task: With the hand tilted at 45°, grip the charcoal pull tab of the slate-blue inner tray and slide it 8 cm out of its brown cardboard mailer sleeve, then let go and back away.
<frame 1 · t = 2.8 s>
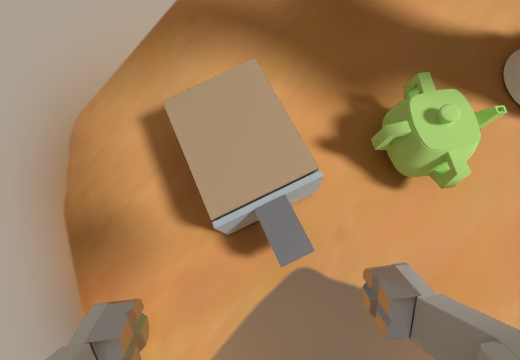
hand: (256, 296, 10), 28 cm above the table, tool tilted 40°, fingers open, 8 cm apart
teapot: (413, 147, 40), on the table
mailer sleeve: (244, 155, 42), on the table
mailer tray: (253, 171, 36), point 4 cm above the table, slide at 0.0 cm
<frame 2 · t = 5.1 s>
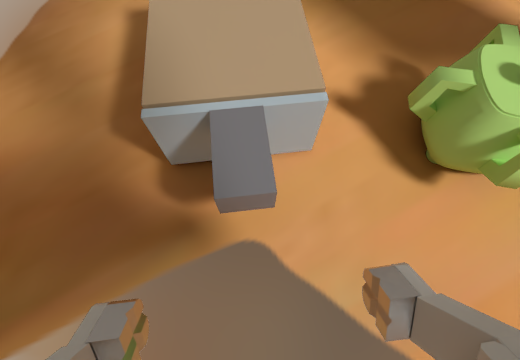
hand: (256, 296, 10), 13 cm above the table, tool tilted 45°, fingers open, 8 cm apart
teapot: (457, 140, 28), on the table
mailer sleeve: (234, 83, 31), on the table
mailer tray: (234, 87, 26), point 4 cm above the table, slide at 0.0 cm
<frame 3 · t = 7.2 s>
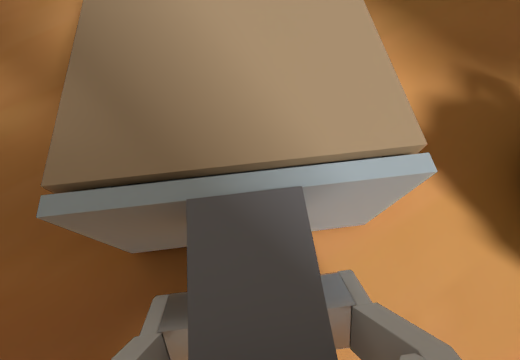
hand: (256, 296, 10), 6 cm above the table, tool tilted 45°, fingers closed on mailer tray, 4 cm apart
mailer sleeve: (236, 109, 21), on the table
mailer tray: (238, 125, 15), point 4 cm above the table, slide at 0.0 cm, touching gripper
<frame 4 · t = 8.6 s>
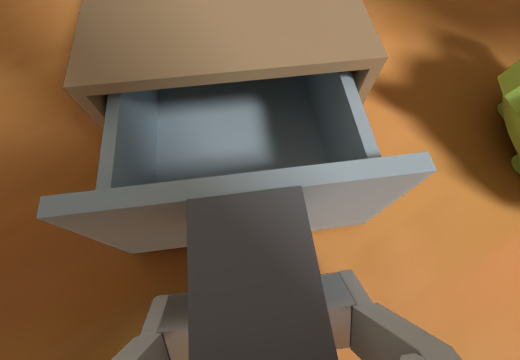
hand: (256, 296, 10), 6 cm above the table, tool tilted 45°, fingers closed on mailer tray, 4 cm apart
mailer sleeve: (230, 66, 22), on the table
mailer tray: (237, 125, 15), point 4 cm above the table, slide at 4.5 cm, touching gripper
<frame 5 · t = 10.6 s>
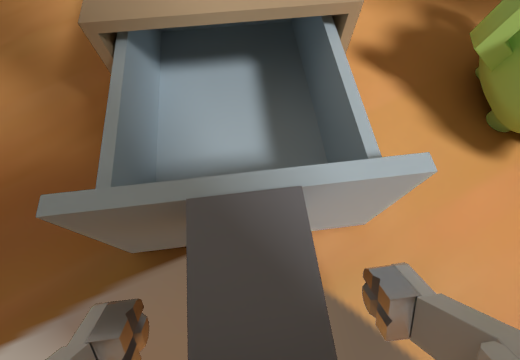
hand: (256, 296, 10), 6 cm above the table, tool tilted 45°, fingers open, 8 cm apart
mailer sleeve: (228, 34, 24), on the table
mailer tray: (237, 124, 15), point 4 cm above the table, slide at 8.5 cm
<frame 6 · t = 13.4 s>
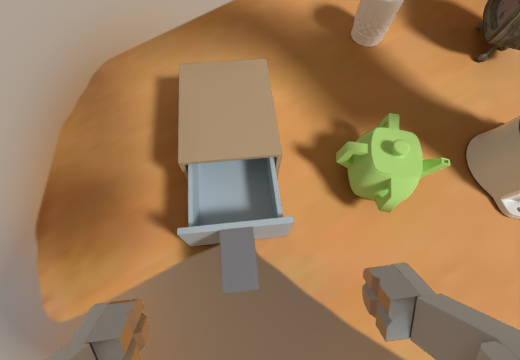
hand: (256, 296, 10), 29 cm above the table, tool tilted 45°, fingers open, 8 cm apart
teapot: (372, 178, 45), on the table
mailer sleeve: (230, 135, 47), on the table
tabletop clock: (491, 48, 58), on the table
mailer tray: (234, 196, 38), point 4 cm above the table, slide at 8.5 cm
white cup: (365, 37, 59), on the table
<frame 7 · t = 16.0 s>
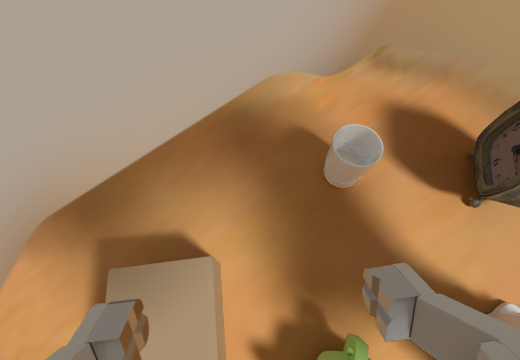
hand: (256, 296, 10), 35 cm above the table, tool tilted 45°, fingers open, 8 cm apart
mailer sleeve: (177, 331, 40), on the table
tabletop clock: (485, 183, 51), on the table
white cup: (340, 172, 51), on the table
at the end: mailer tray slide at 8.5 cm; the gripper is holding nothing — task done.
